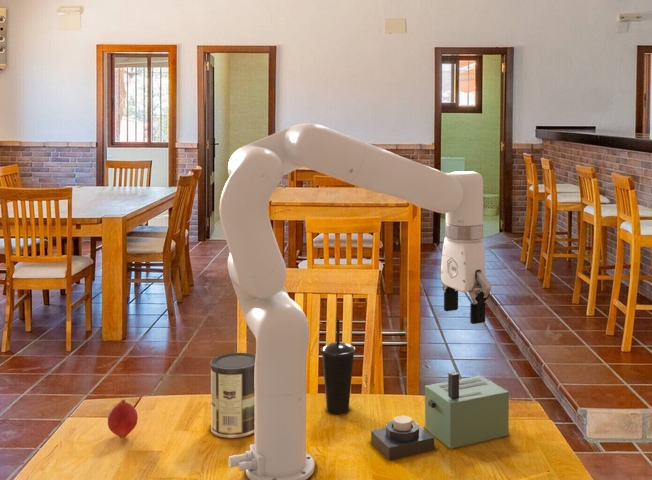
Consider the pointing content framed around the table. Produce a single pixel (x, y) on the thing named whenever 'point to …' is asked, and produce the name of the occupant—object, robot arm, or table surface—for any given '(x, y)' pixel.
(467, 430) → the toaster
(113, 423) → the onion
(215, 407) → the coffee can
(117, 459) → the table surface
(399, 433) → the control block
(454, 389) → the slider
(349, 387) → the drinking cup
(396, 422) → the button
